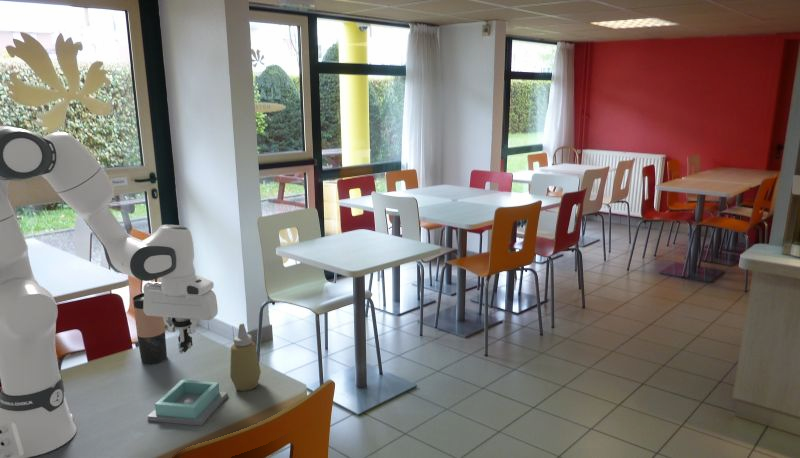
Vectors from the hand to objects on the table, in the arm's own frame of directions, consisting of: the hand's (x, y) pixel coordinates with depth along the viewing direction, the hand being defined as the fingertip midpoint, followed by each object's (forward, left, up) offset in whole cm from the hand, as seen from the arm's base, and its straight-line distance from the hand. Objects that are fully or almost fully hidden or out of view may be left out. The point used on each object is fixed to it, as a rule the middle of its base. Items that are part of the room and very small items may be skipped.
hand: (181, 332), depth 157 cm
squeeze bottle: (+18, -1, -15) cm, 23 cm away
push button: (0, 0, -6) cm, 6 cm away
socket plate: (+8, -13, -14) cm, 21 cm away
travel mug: (-17, +11, -15) cm, 24 cm away
